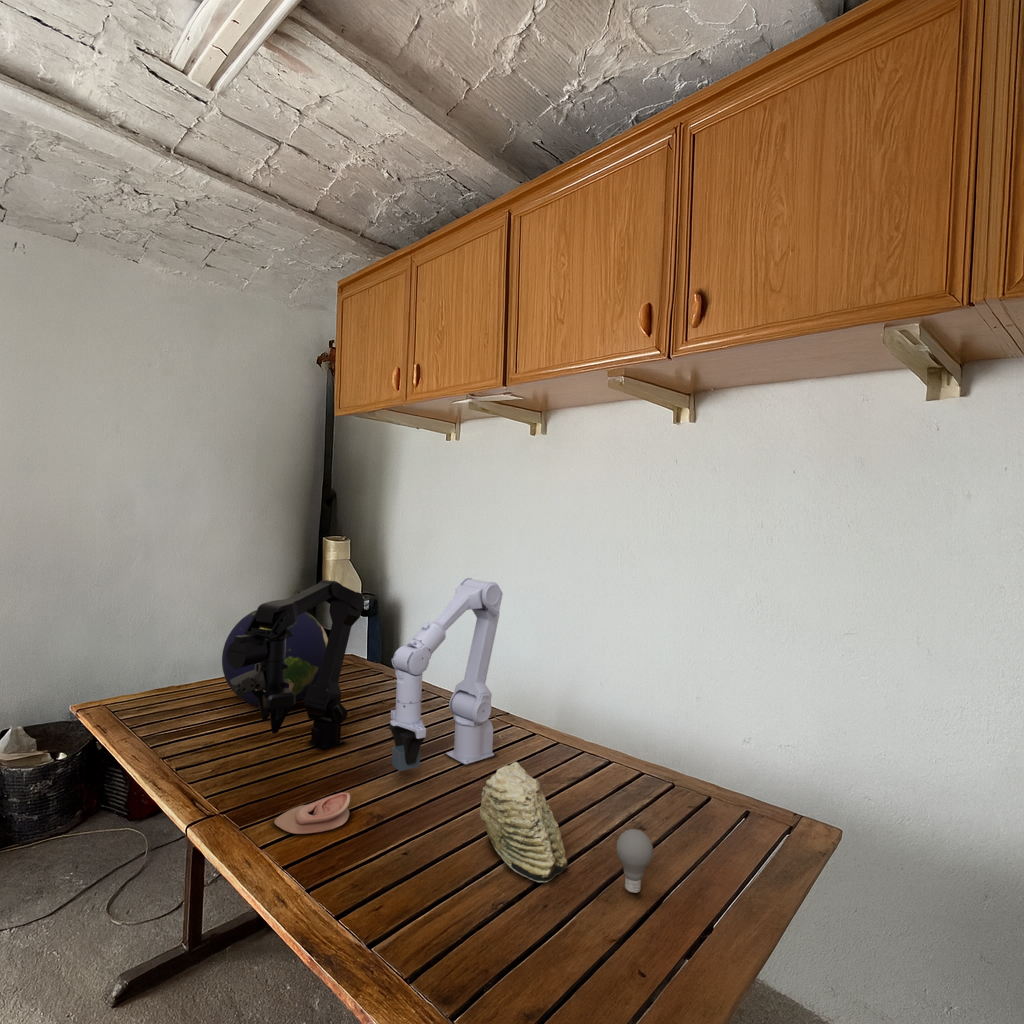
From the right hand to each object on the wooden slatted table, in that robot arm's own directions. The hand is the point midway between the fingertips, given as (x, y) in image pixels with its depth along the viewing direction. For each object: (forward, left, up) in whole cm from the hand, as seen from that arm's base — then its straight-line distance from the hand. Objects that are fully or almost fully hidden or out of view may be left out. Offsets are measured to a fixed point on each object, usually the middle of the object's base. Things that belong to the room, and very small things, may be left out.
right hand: (406, 759), depth 143 cm
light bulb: (-7, +58, -5) cm, 58 cm away
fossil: (+1, +39, -5) cm, 39 cm away
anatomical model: (+24, +5, -5) cm, 25 cm away
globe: (+4, -64, -5) cm, 64 cm away
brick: (0, 0, -1) cm, 1 cm away
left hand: (+22, -23, +6) cm, 32 cm away
